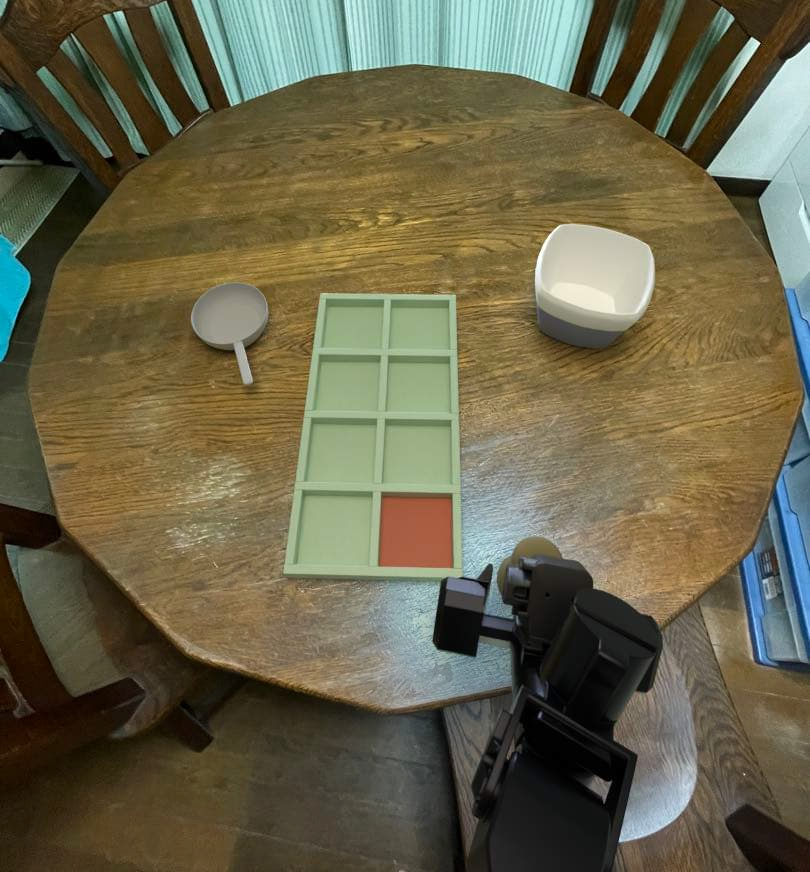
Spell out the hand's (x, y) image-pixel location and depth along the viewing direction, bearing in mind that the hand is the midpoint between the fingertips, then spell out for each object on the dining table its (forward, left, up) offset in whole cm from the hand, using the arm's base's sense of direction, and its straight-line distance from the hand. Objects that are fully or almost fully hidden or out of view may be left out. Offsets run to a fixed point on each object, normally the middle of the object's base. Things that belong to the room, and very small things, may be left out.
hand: (536, 576), depth 59 cm
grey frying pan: (+32, +38, -9) cm, 50 cm away
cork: (+1, 0, -9) cm, 9 cm away
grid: (+20, +17, -9) cm, 28 cm away
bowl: (+38, -11, -9) cm, 41 cm away
